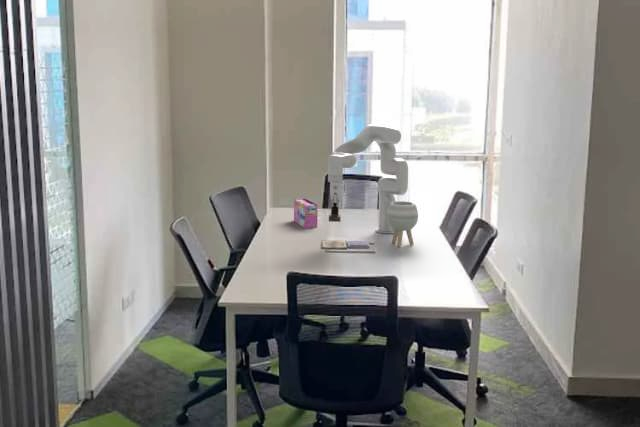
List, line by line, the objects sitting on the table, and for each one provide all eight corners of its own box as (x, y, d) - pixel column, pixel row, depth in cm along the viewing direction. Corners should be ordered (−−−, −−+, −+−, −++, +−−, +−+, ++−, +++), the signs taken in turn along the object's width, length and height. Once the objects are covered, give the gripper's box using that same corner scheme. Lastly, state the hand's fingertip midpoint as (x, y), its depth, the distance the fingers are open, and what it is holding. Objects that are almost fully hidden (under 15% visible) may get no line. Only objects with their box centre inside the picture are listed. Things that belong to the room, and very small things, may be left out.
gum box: (292, 220, 431) (292, 198, 428) (304, 219, 434) (305, 198, 431) (305, 228, 409) (305, 205, 406) (317, 227, 411) (318, 204, 409)
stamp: (340, 219, 367) (340, 195, 365) (340, 221, 361) (340, 197, 359) (328, 219, 367) (329, 195, 365) (328, 221, 361) (329, 197, 359)
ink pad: (368, 243, 372) (368, 240, 372) (369, 248, 361) (369, 245, 361) (347, 243, 372) (347, 240, 372) (348, 248, 361) (348, 245, 361)
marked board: (346, 242, 374) (346, 240, 374) (347, 249, 359) (347, 247, 359) (321, 241, 374) (322, 240, 374) (321, 248, 359) (321, 247, 359)
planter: (397, 249, 359) (398, 206, 355) (380, 243, 373) (381, 201, 369) (423, 246, 366) (424, 204, 362) (405, 240, 380) (406, 199, 376)
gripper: (343, 181, 352) (342, 216, 355) (342, 176, 368) (341, 210, 372) (328, 180, 352) (327, 216, 355) (327, 176, 368) (327, 210, 372)
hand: (334, 213), depth 363 cm, fingers closed on stamp, 4 cm apart
